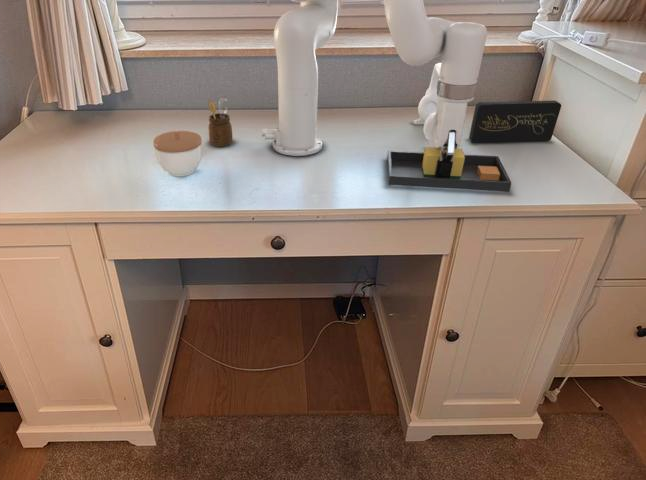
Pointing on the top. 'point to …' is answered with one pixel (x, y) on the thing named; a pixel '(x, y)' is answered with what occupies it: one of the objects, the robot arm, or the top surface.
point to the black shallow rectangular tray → (409, 173)
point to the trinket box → (178, 152)
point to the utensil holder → (219, 127)
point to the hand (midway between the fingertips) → (440, 171)
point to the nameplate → (514, 121)
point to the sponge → (433, 156)
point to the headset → (429, 106)
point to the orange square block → (488, 173)
